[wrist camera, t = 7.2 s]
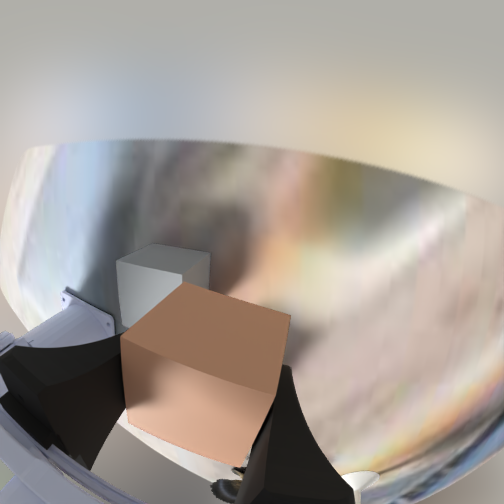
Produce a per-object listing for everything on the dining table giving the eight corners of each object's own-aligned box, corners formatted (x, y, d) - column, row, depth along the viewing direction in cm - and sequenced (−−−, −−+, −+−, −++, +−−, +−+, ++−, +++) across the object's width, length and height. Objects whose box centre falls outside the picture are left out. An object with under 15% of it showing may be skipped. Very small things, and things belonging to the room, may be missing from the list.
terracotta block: (262, 392, 13) (240, 467, 8) (174, 361, 14) (128, 422, 9) (291, 315, 12) (275, 395, 7) (184, 281, 12) (120, 336, 8)
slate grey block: (208, 311, 22) (182, 344, 17) (154, 298, 23) (122, 325, 18) (211, 252, 20) (182, 274, 16) (153, 242, 21) (115, 260, 17)
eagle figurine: (258, 449, 24) (202, 470, 25) (280, 502, 19) (217, 517, 20) (291, 449, 29) (239, 470, 30) (311, 492, 23) (254, 510, 24)
